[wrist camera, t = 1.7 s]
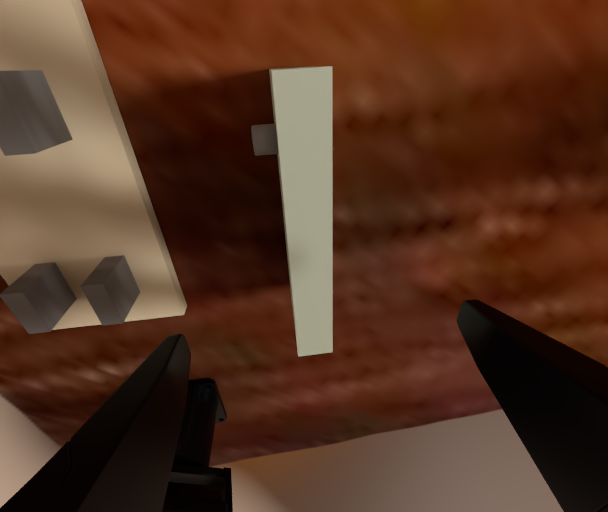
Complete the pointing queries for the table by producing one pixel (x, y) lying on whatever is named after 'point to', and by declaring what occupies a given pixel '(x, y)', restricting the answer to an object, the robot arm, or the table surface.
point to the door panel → (304, 194)
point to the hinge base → (71, 182)
